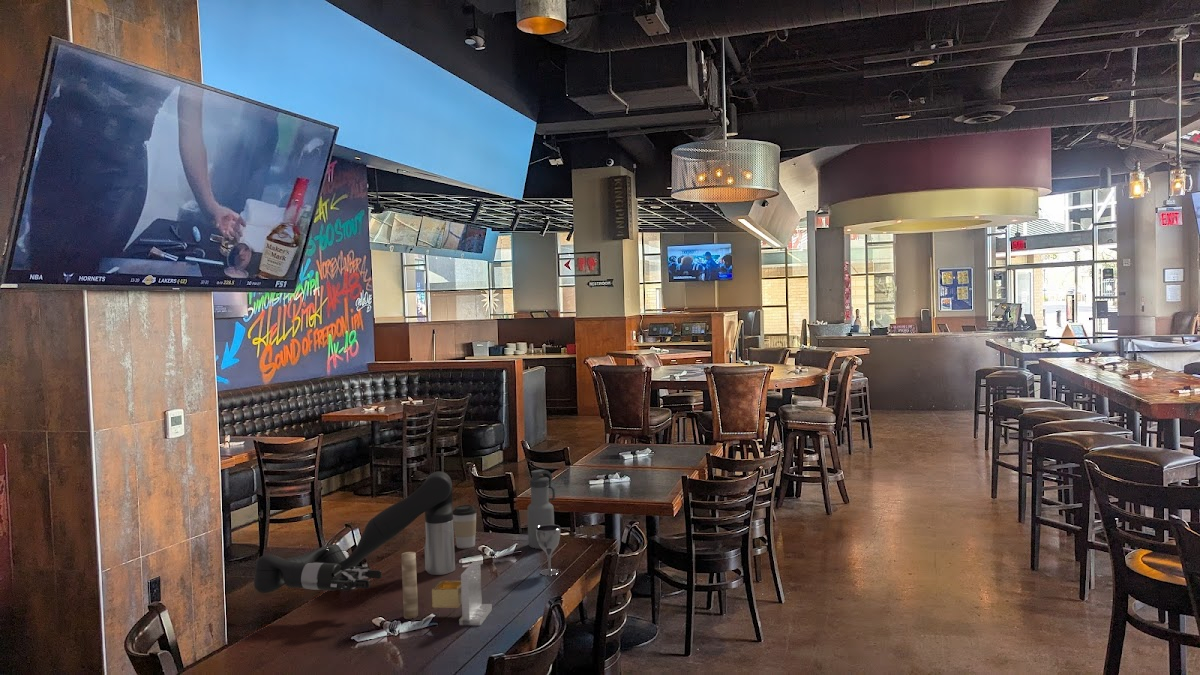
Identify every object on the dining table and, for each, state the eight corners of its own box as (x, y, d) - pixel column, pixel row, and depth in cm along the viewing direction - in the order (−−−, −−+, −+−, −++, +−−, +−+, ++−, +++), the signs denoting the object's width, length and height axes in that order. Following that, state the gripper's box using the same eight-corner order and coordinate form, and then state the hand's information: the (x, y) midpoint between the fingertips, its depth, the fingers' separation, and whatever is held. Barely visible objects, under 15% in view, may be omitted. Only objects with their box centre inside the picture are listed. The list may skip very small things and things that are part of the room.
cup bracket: (430, 624, 214) (428, 574, 214) (444, 608, 226) (442, 561, 226) (480, 625, 212) (478, 575, 212) (492, 609, 224) (490, 561, 224)
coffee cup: (448, 547, 288) (447, 507, 288) (463, 541, 296) (462, 502, 296) (468, 550, 284) (466, 509, 284) (482, 543, 292) (481, 504, 292)
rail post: (400, 617, 221) (398, 554, 220) (412, 612, 224) (409, 551, 224) (409, 620, 218) (407, 556, 218) (421, 615, 222) (418, 553, 221)
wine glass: (560, 576, 251) (559, 530, 251) (536, 576, 251) (534, 531, 251) (562, 568, 259) (560, 524, 259) (539, 569, 259) (537, 524, 259)
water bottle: (542, 540, 294) (539, 466, 293) (561, 544, 288) (558, 469, 287) (523, 546, 286) (520, 471, 285) (542, 551, 280) (539, 474, 279)
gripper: (332, 581, 231) (384, 584, 229) (309, 597, 216) (364, 601, 215) (333, 556, 231) (385, 558, 229) (309, 571, 216) (365, 574, 215)
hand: (375, 579), depth 222 cm, fingers open, 8 cm apart
